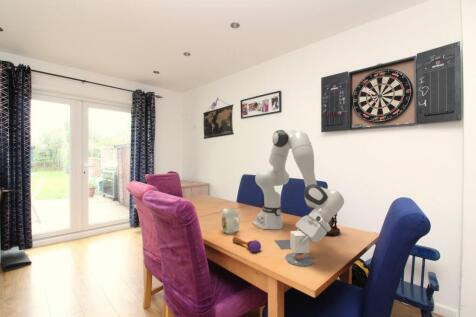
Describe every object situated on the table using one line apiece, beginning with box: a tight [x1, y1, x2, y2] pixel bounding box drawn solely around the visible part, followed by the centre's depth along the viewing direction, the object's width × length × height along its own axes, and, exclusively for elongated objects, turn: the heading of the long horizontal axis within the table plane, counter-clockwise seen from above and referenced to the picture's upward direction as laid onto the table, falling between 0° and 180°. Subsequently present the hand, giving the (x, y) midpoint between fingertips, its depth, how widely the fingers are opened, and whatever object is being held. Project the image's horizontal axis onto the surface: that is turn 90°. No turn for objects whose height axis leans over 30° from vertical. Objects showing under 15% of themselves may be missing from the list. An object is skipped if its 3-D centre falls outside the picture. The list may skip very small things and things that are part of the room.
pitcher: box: [221, 208, 240, 235], centre depth 148 cm, size 11×18×14 cm, turn 33°
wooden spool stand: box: [326, 213, 341, 237], centre depth 147 cm, size 15×15×20 cm
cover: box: [289, 230, 310, 254], centre depth 109 cm, size 7×7×8 cm
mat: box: [274, 239, 292, 250], centre depth 128 cm, size 13×13×1 cm
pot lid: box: [284, 252, 315, 267], centre depth 110 cm, size 13×13×3 cm
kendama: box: [231, 236, 262, 253], centre depth 125 cm, size 6×6×20 cm
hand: (298, 240), depth 109 cm, fingers closed on cover, 7 cm apart
